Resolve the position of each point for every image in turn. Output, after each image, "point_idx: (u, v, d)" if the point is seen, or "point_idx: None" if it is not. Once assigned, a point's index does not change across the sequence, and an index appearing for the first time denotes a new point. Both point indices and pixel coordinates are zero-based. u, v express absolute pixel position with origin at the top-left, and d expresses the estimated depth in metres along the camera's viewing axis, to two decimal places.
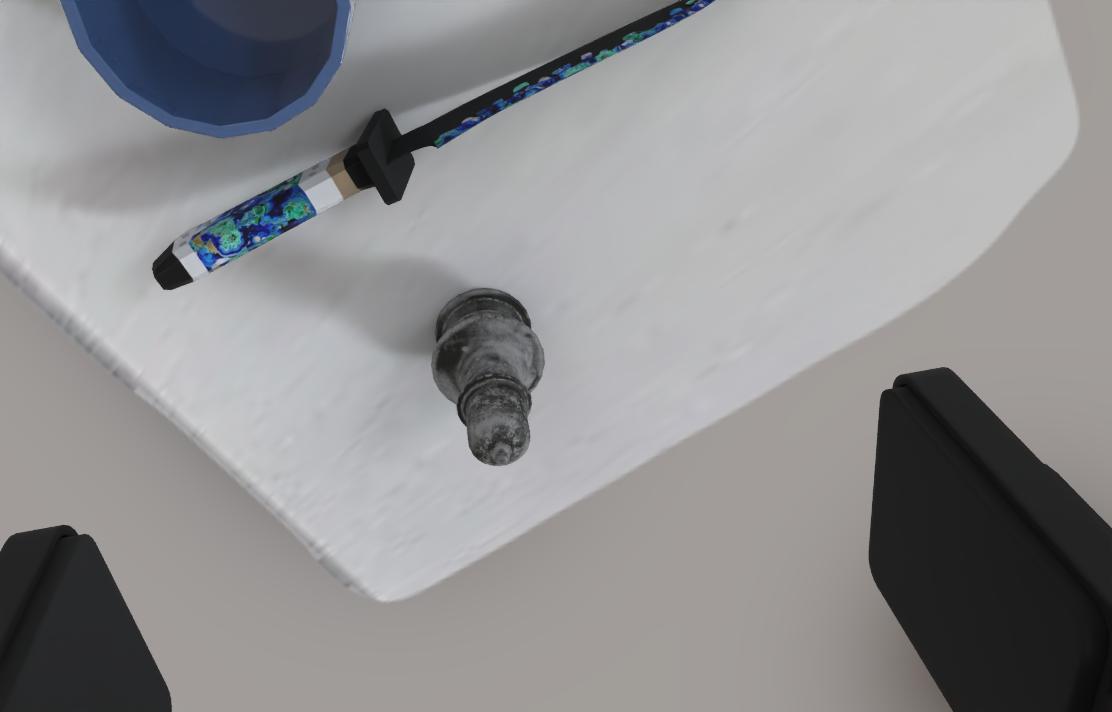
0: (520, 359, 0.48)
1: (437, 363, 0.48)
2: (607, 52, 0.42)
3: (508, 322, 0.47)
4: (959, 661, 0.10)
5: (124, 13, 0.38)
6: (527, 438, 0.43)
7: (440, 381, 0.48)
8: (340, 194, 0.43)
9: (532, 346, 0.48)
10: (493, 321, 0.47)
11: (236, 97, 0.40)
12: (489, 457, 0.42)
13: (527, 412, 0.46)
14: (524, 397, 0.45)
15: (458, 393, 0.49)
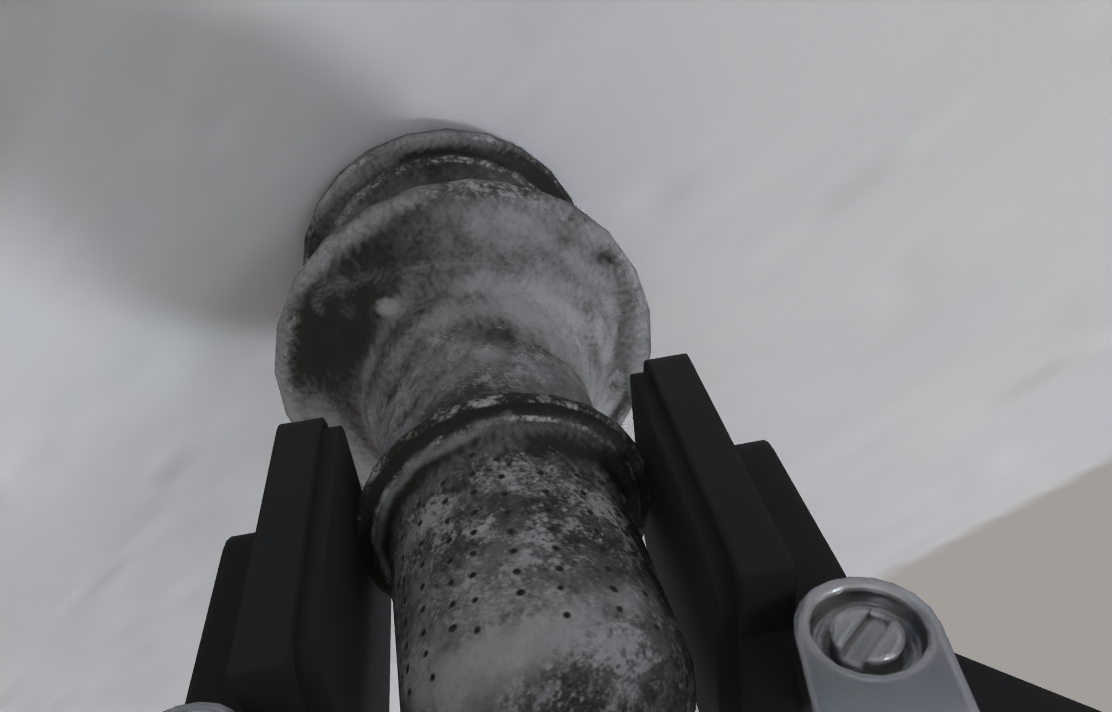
0: (581, 340, 0.14)
1: (295, 362, 0.14)
2: None
3: (540, 210, 0.13)
4: (681, 622, 0.11)
5: None
6: (691, 705, 0.09)
7: None
8: None
9: (617, 295, 0.14)
10: (486, 206, 0.13)
11: None
12: None
13: None
14: (628, 485, 0.11)
15: (373, 460, 0.15)
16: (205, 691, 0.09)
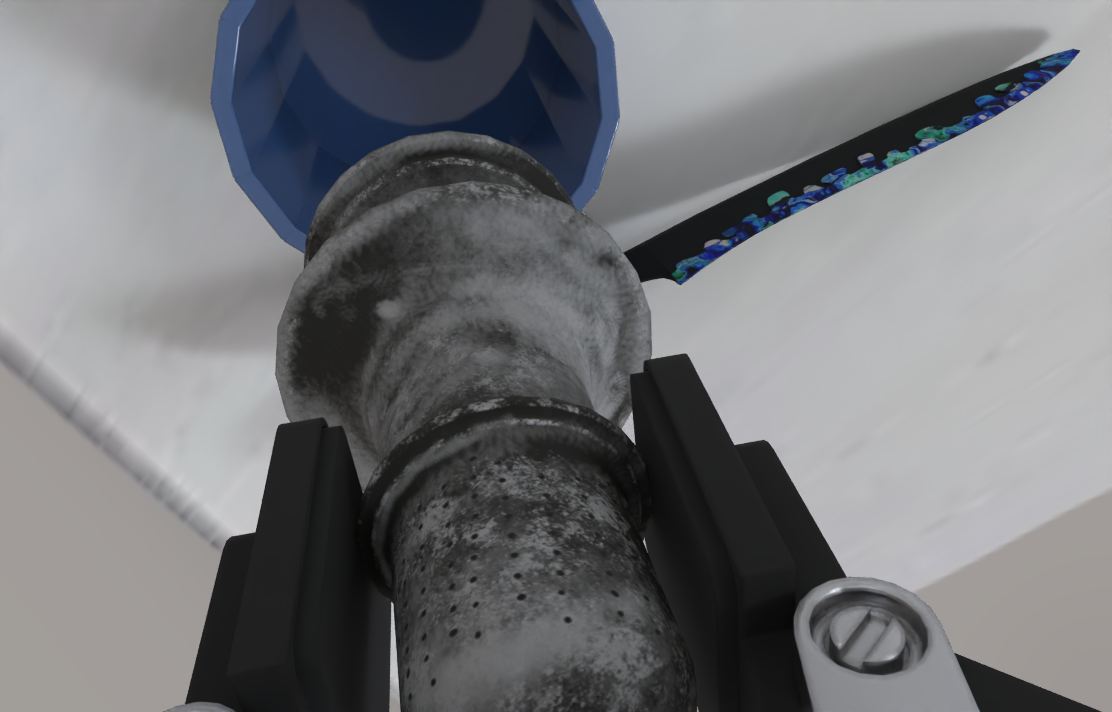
0: (581, 343, 0.14)
1: (295, 365, 0.14)
2: (900, 155, 0.32)
3: (541, 212, 0.13)
4: (681, 622, 0.11)
5: (273, 111, 0.28)
6: (692, 710, 0.09)
7: None
8: None
9: (618, 298, 0.14)
10: (487, 208, 0.13)
11: None
12: None
13: None
14: (629, 488, 0.11)
15: (374, 462, 0.15)
16: (205, 691, 0.09)
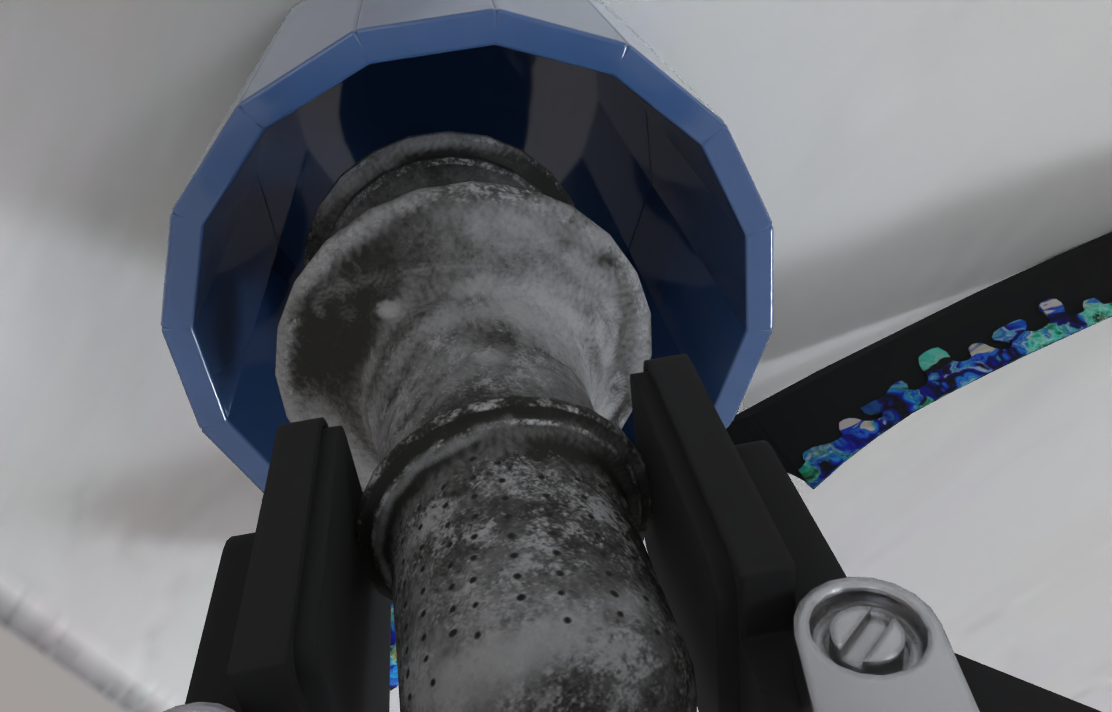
0: (581, 343, 0.14)
1: (295, 365, 0.14)
2: (1103, 307, 0.24)
3: (540, 213, 0.13)
4: (681, 622, 0.11)
5: (263, 279, 0.20)
6: (691, 710, 0.09)
7: None
8: None
9: (618, 298, 0.14)
10: (487, 208, 0.13)
11: None
12: None
13: None
14: (629, 488, 0.11)
15: (373, 463, 0.15)
16: (205, 691, 0.09)
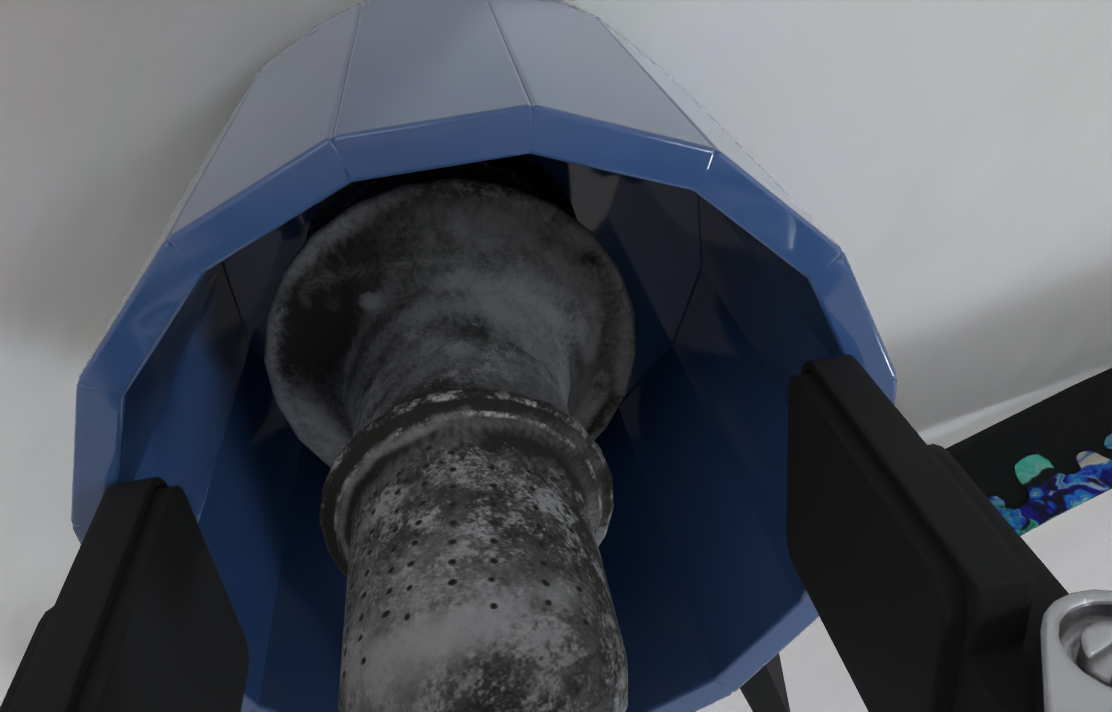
0: (561, 339, 0.14)
1: (283, 353, 0.14)
2: None
3: (523, 210, 0.14)
4: (856, 634, 0.10)
5: (227, 401, 0.16)
6: (619, 701, 0.09)
7: (298, 412, 0.15)
8: None
9: (601, 296, 0.14)
10: (470, 205, 0.13)
11: None
12: None
13: (596, 536, 0.12)
14: (588, 483, 0.11)
15: None
16: None
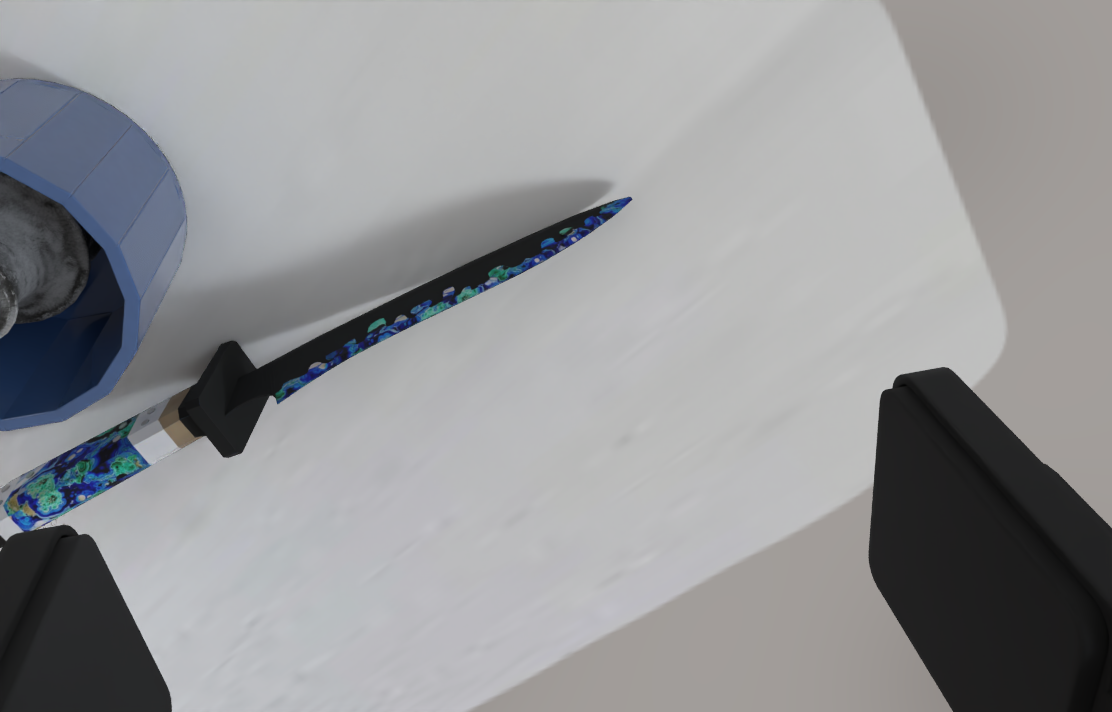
0: (33, 239, 0.32)
1: None
2: (469, 292, 0.38)
3: (11, 182, 0.32)
4: (959, 661, 0.10)
5: None
6: None
7: None
8: (175, 445, 0.38)
9: (59, 221, 0.32)
10: None
11: (41, 360, 0.35)
12: None
13: (11, 310, 0.30)
14: None
15: None
16: None
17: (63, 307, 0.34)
